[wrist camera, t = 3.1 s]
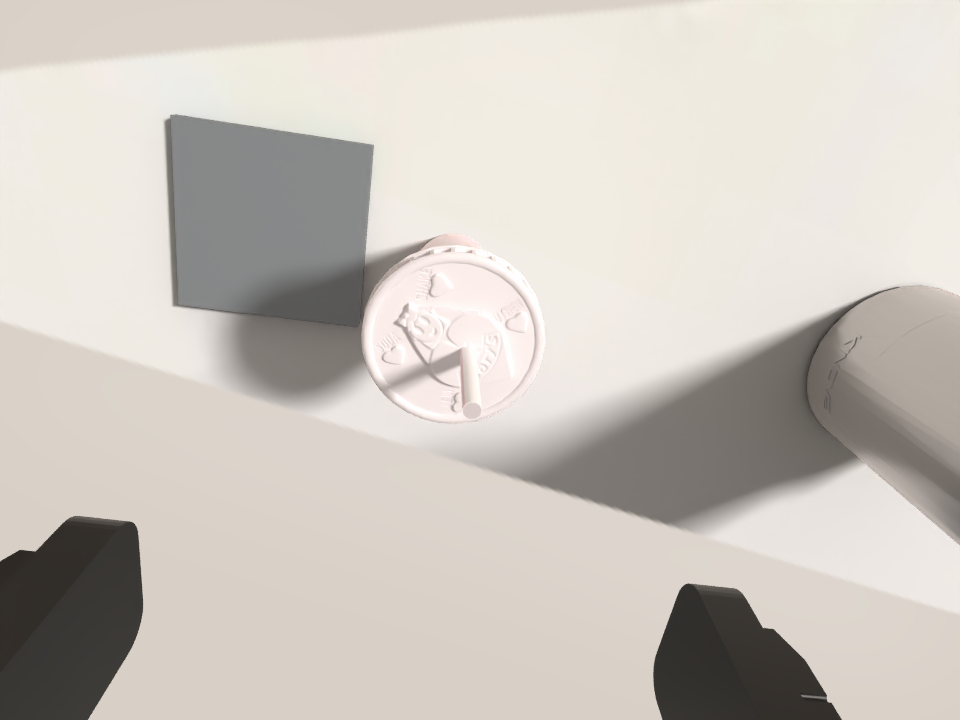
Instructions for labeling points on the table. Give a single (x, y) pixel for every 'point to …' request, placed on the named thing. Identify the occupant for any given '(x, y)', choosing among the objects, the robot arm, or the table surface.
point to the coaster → (270, 220)
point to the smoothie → (453, 332)
